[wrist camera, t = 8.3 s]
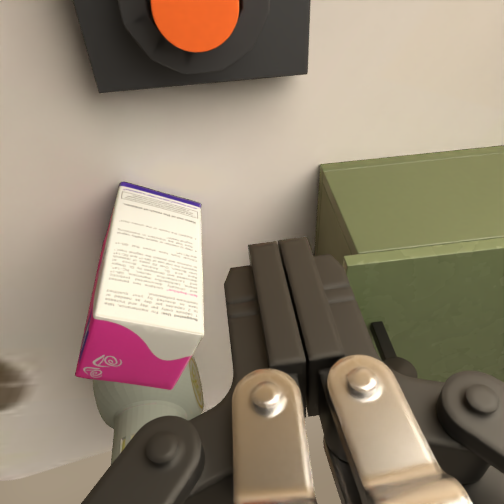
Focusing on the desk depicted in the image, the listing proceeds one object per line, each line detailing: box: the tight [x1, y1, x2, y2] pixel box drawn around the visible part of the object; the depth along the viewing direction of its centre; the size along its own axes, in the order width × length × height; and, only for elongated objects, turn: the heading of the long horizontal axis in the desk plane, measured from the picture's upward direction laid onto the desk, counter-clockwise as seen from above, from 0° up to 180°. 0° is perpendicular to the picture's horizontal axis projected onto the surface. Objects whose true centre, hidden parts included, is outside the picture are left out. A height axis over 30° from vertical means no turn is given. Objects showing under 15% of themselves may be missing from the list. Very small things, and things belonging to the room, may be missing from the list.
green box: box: [314, 146, 504, 266], centre depth 33 cm, size 14×15×9 cm
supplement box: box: [75, 182, 204, 390], centre depth 28 cm, size 6×6×12 cm
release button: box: [151, 0, 239, 53], centre depth 19 cm, size 4×4×2 cm
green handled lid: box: [343, 237, 504, 382], centre depth 28 cm, size 15×15×5 cm
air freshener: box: [93, 355, 204, 465], centre depth 40 cm, size 11×8×10 cm
